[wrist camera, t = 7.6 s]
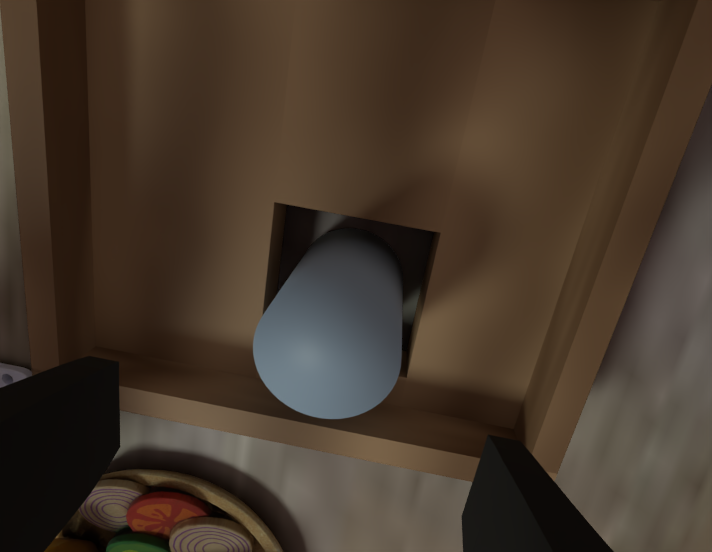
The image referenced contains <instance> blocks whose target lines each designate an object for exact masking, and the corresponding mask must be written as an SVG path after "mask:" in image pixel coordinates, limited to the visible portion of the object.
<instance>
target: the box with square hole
mask: <svg viewBox="0 0 712 552" xmlns="http://www.w3.org/2000/svg"><path fill="white" fill-rule="evenodd" d="M0 8H1V20H2V31H3V43H4V55H5V66H6V78H7V90H8V101H9V113H10V124H11V136H12V148H13V159H14V171H15V183H16V194H17V206H18V218H19V229H20V241H21V253H22V264H23V276H24V287H25V299H26V311H27V322H28V334H29V346H30V357H31V369H32V376H33V375H35V374H38V373H40V372H43V371H46V370H48V369H51V368H54V367H57V366H59V365H62V364H65V363H68V362H71V361H74V360H77V359H80V358H83V357H87V356H93V357H98V358H103V359H108V360H113V361H118V362H119V400H120V410H121V411H126V412H131V413H136V414H141V415H146V416H150V417H155V418H160V419H165V420H170V421H175V422H180V423H185V424H190V425H195V426H200V427H205V428H210V429H215V430H219V431H224V432H229V433H234V434H239V435H244V436H249V437H254V438H259V439H264V440H269V441H274V442H279V443H284V444H288V445H293V446H298V447H303V448H308V449H313V450H318V451H323V452H328V453H333V454H338V455H343V456H348V457H353V458H357V459H362V460H367V461H372V462H377V463H382V464H387V465H392V466H397V467H402V468H407V469H412V470H417V471H422V472H426V473H431V474H436V475H441V476H446V477H451V478H456V479H461V480H466V481H471V482H473V480H474V477H475V473H476V470H477V467H478V464H479V461H480V458H481V455H482V451H483V448H484V445H485V442H486V439H487V436H488V435H493V436H498V437H503V438H508V439H513V440H518V441H521V442H522V443H523V445H524V446H525V447H526V448H527V449H528V450H529V452H530V453H531V454H532V455H533V456H534V457H535V459H536V460H537V461H538V462H539V464H540V465H541V466H542V467H543V468H544V470H545V471H546V472H547V473H548V475H549V476H550V477H551V478H552V479H553V481H555V478H556V476H557V473H558V471H559V468H560V466H561V463H562V460H563V458H564V455H565V453H566V450H567V448H568V445H569V443H570V440H571V438H572V435H573V433H574V430H575V428H576V425H577V423H578V420H579V418H580V415H581V413H582V410H583V408H584V405H585V403H586V400H587V397H588V395H589V392H590V390H591V387H592V385H593V382H594V380H595V377H596V375H597V372H598V370H599V367H600V365H601V362H602V360H603V357H604V355H605V352H606V350H607V347H608V345H609V342H610V339H611V337H612V334H613V332H614V329H615V327H616V324H617V322H618V319H619V317H620V314H621V312H622V309H623V307H624V304H625V302H626V299H627V297H628V294H629V292H630V289H631V287H632V284H633V282H634V279H635V276H636V274H637V271H638V269H639V266H640V264H641V261H642V259H643V256H644V254H645V251H646V249H647V246H648V244H649V241H650V239H651V236H652V234H653V231H654V229H655V226H656V224H657V221H658V219H659V216H660V213H661V211H662V208H663V206H664V203H665V201H666V198H667V196H668V193H669V191H670V188H671V186H672V183H673V181H674V178H675V176H676V173H677V171H678V168H679V166H680V163H681V161H682V158H683V156H684V153H685V150H686V148H687V145H688V143H689V140H690V138H691V135H692V133H693V130H694V128H695V125H696V123H697V120H698V118H699V115H700V113H701V110H702V108H703V105H704V103H705V100H706V98H707V95H708V93H709V90H710V87H711V85H712V0H0ZM287 205H293V206H298V207H304V208H309V209H314V210H320V211H325V212H331V213H336V214H341V215H347V216H352V217H358V218H363V219H369V220H374V221H379V222H385V223H390V224H396V225H401V226H406V227H412V228H417V229H423V230H428V231H433V232H434V234H433V238H432V242H431V247H430V251H429V255H428V260H427V264H426V269H425V273H424V277H423V282H422V286H421V290H420V295H419V299H418V303H417V308H416V312H415V316H414V321H413V325H412V329H411V334H410V338H409V343H408V347H407V351H402V358H401V368H400V373H399V376H398V379H397V381H396V384H395V385H394V387H393V389H392V390H391V392H390V393H389V394H388V395H387V397H386V398H385V399H384V400H383V401H382V402H381V403H379V404H378V405H377V406H375V407H374V408H372V409H370V410H369V411H367V412H365V413H362V414H359V415H357V416H353V417H349V418H342V419H324V418H317V417H312V416H309V415H306V414H303V413H300V412H298V411H296V410H294V409H292V408H290V407H289V406H287V405H285V404H284V403H283V402H281V401H280V400H279V399H278V398H277V397H276V396H274V395H273V394H272V393H271V391H270V390H269V389H268V388H267V387H266V385H265V384H264V382H263V381H262V379H261V377H260V375H259V373H258V371H257V368H256V365H255V361H254V355H253V341H254V335H255V331H256V328H257V325H258V323H259V321H260V319H261V318H262V316H263V314H264V313H265V311H266V310H267V308H268V307H269V305H270V304H271V303H272V301H273V300H274V298H275V297H276V295H277V287H278V279H279V270H280V261H281V253H282V244H283V235H284V227H285V218H286V209H287Z"/></svg>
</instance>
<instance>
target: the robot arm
mask: <svg viewBox="0 0 712 552" xmlns="http://www.w3.org/2000/svg"><path fill="white" fill-rule="evenodd" d="M10 376H11V377H12V378H11V377H10ZM119 448H120V400H119V362H118V361H113V360H108V359H103V358H98V357H93V356H87V357H83V358H80V359H77V360H74V361H71V362H68V363H65V364H62V365H59V366H57V367H54V368H51V369H48V370H46V371H43V372H40V373H38V374H35V375H33V376H32V372H31V371H30V370H29V369H26V368H24V367H19V366H14V365H9V364H4V363H0V552H44V551H45V550H46V549H47V547H48V546H49V545H50V544H51V543H52V541H53V540H54V539H55V538H56V536H57V535H58V534H59V533H60V531H61V530H62V529H63V528H64V527H65V525H66V524H67V523H68V522H69V520H70V519H71V518H72V517H73V515H74V514H75V513H76V512H77V510H78V509H79V508H80V507H81V505H82V504H83V503H84V502H85V500H86V499H87V498H88V496H89V495H90V494H91V492H92V491H93V489H94V488H95V486H96V485H97V483H98V481H99V480H100V478H101V477H102V475H103V474H104V472H105V471H106V469H107V467H108V466H109V464H110V462H111V461H112V459H113V458H114V456H115V454H116V453H117V451H118V449H119ZM462 533H463V552H614V551H613V550H612V549H611V548H610V547H609V546H608V545H607V544H606V542H605V541H604V540H603V539H602V538H601V537H600V536H599V534H598V533H597V532H596V531H595V530H594V529H593V527H592V526H591V525H590V524H589V523H588V522H587V520H586V519H585V518H584V517H583V516H582V515H581V513H580V512H579V511H578V510H577V509H576V507H575V506H574V505H573V504H572V503H571V501H570V500H569V499H568V498H567V497H566V495H565V494H564V493H563V492H562V490H561V489H560V488H559V487H558V486H557V484H556V483H555V482H554V481H553V479H552V478H551V477H550V476H549V475H548V473H547V472H546V471H545V470H544V468H543V467H542V466H541V465H540V464H539V462H538V461H537V460H536V459H535V457H534V456H533V455H532V454H531V453H530V452H529V450H528V449H527V448H526V447H525V446H524V445H523V443H522V442H521V441H518V440H513V439H508V438H503V437H498V436H493V435H488V436H487V439H486V442H485V445H484V448H483V451H482V455H481V458H480V461H479V464H478V467H477V470H476V473H475V477H474V480H473V483H472V486H471V489H470V492H469V495H468V498H467V502H466V505H465V508H464V511H463V514H462Z"/></svg>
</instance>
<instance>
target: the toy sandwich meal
mask: <svg viewBox="0 0 712 552" xmlns="http://www.w3.org/2000/svg"><path fill="white" fill-rule="evenodd" d="M44 552H283V550H282V548H281V546H280V544H279V542H278V541H277V539H276V538H275V536H274V535H273V533H272V532H271V531H270V529H269V528H268V527H267V526H266V525H265V523H264V522H263V521H262V520H261V519H260V518H259V517H258V515H257V514H256V513H255V512H254V511H253V510H252V509H250V508H249V507H248V506H247V505H246V504H245V503H244V502H242V501H241V500H240V499H238V498H237V497H236V496H234V495H233V494H231V493H229V492H228V491H226V490H224V489H223V488H221V487H219V486H217V485H215V484H213V483H210V482H208V481H206V480H203V479H200V478H198V477H194V476H191V475H188V474H184V473H180V472H174V471H167V470H151V469H132V470H123V471H116V472H111V473H108V474H104V475H102V477H101V478H100V480H99V481H98V483H97V485H96V486H95V488H94V489H93V491H92V492H91V494H90V495H89V496H88V498H87V499H86V500H85V502H84V503H83V504H82V505H81V507H80V508H79V509H78V510H77V512H76V513H75V514H74V515H73V517H72V518H71V519H70V520H69V522H68V523H67V524H66V525H65V527H64V528H63V529H62V530H61V531H60V533H59V534H58V535H57V536H56V538H55V539H54V540H53V541H52V543H51V544H50V545H49V546H48V547H47V549H46V550H45V551H44Z"/></svg>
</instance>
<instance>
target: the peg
mask: <svg viewBox="0 0 712 552" xmlns="http://www.w3.org/2000/svg"><path fill="white" fill-rule="evenodd" d="M402 310H403V272H402V267H401V264H400V261H399V259H398V257H397V255H396V253H395V252H394V250H393V249H392V248H391V247H390V246H389V245H388V243H386V242H385V241H384V240H383V239H381V238H380V237H378V236H377V235H375V234H373V233H371V232H368V231H365V230H361V229H353V228H346V229H338V230H334V231H331V232H329V233H327V234H325V235H323V236H321V237H320V238H318V239H317V240H316V241H315V242H314V243H313V244H312V245H311V246H310V247H309V249H308V250H307V251H306V253H305V254H304V256H303V257H302V259H301V260H300V262H299V263H298V265H297V266H296V268H295V269H294V270H293V272H292V273H291V275H290V276H289V278H288V279H287V281H286V282H285V284H284V285H283V287H282V288H281V289H280V291H279V292H278V294H277V295H276V297H275V298H274V300H273V301H272V303H271V304H270V305H269V307H268V308H267V310H266V311H265V313H264V314H263V316H262V318H261V319H260V321H259V323H258V325H257V328H256V331H255V335H254V341H253V355H254V361H255V365H256V368H257V371H258V373H259V375H260V377H261V379H262V381H263V382H264V384H265V385H266V387H267V388H268V389H269V390H270V391H271V393H272V394H273V395H274V396H276V397H277V398H278V399H279V400H280V401H281V402H283V403H284V404H285V405H287V406H289V407H290V408H292V409H294V410H296V411H298V412H300V413H303V414H306V415H309V416H312V417H317V418H324V419H342V418H349V417H353V416H357V415H359V414H362V413H365V412H367V411H369V410H370V409H372V408H374V407H375V406H377V405H378V404H379V403H381V402H382V401H383V400H384V399H385V398H386V397H387V395H388V394H389V393H390V392H391V390H392V389H393V387H394V385H395V384H396V381H397V379H398V376H399V373H400V368H401V358H402Z"/></svg>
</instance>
